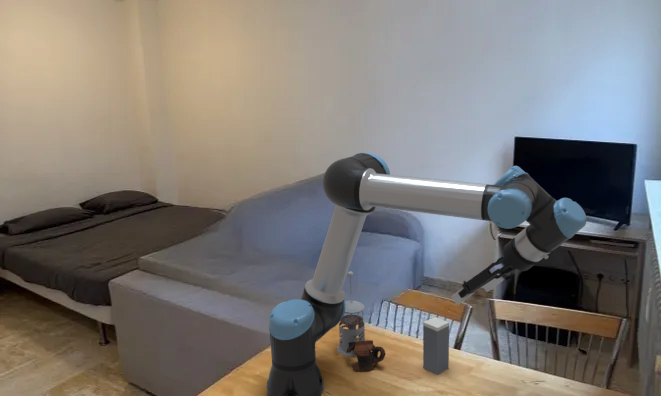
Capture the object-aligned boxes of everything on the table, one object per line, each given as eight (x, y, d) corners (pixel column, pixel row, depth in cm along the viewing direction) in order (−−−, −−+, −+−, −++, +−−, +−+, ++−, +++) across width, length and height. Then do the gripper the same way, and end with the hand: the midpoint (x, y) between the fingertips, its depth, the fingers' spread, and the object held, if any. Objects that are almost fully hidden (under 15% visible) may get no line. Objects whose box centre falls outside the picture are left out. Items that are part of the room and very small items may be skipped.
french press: (331, 352, 162) (328, 274, 157) (347, 336, 172) (345, 262, 167) (360, 359, 158) (358, 279, 152) (375, 342, 168) (374, 266, 162)
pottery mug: (342, 372, 151) (340, 342, 154) (356, 371, 160) (353, 343, 162) (382, 368, 147) (379, 338, 149) (393, 368, 155) (390, 338, 158)
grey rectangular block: (423, 367, 152) (423, 322, 149) (434, 361, 155) (435, 316, 152) (437, 374, 148) (437, 327, 145) (448, 368, 151) (449, 322, 148)
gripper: (506, 276, 114) (448, 320, 129) (563, 251, 128) (505, 293, 143) (485, 247, 117) (431, 294, 131) (543, 226, 131) (489, 270, 146)
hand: (470, 293), depth 137 cm, fingers open, 12 cm apart
